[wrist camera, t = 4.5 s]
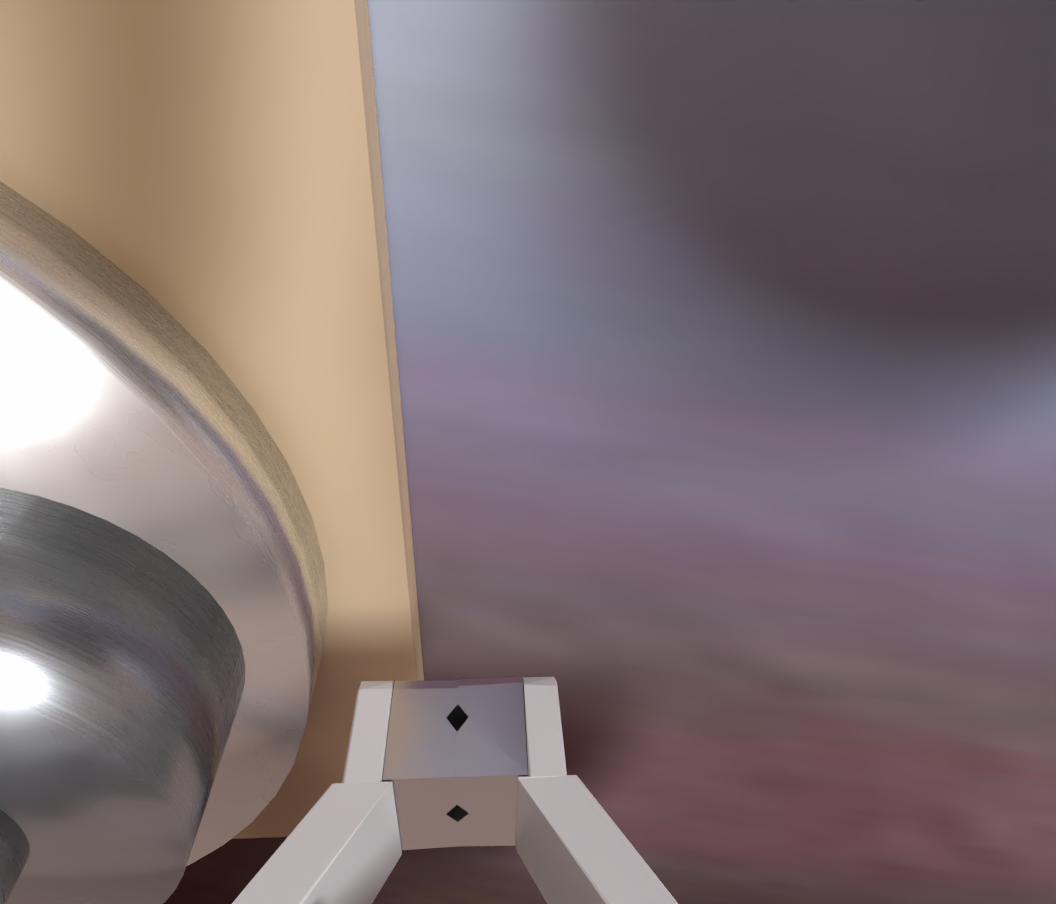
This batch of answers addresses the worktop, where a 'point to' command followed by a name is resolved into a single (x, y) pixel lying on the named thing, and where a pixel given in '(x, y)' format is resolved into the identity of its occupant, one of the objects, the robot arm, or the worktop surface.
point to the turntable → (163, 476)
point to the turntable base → (248, 267)
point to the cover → (104, 708)
